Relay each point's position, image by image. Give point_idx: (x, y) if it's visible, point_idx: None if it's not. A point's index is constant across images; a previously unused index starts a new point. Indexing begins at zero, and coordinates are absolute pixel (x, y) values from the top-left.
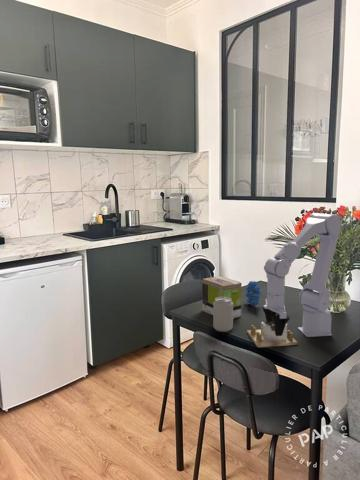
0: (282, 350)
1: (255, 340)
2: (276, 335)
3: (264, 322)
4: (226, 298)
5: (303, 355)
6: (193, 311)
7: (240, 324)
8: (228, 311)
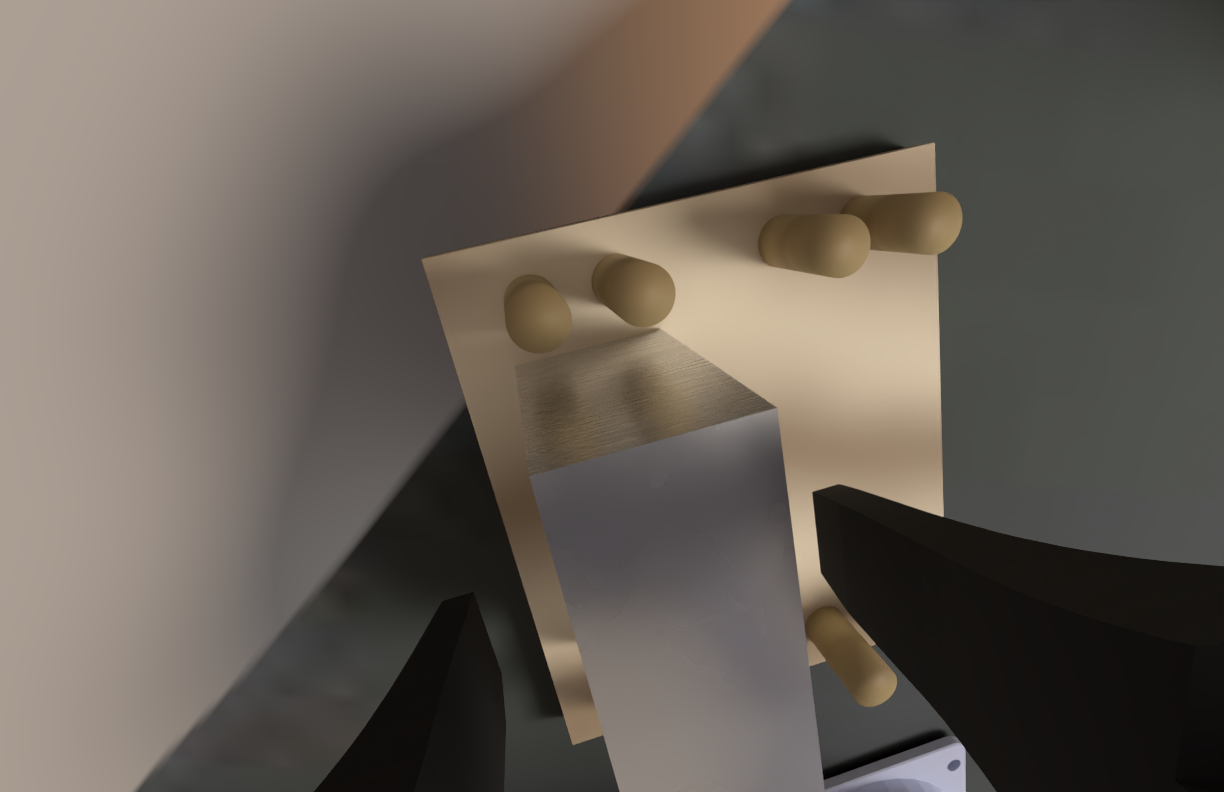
0: (392, 568)
1: (571, 238)
2: (438, 610)
3: (745, 482)
4: None
5: (303, 765)
6: None
7: (1184, 75)
8: None
